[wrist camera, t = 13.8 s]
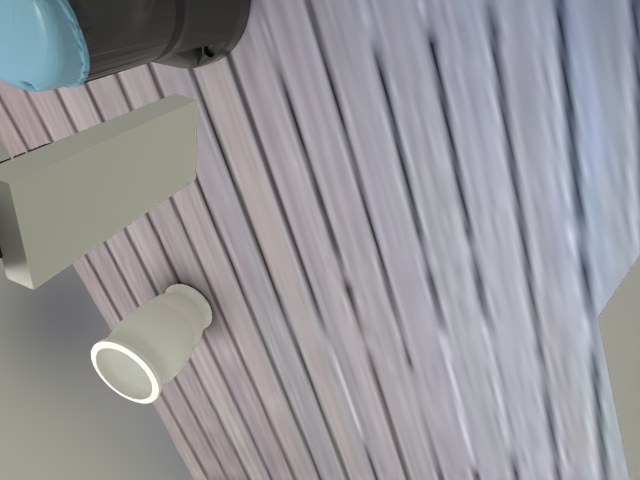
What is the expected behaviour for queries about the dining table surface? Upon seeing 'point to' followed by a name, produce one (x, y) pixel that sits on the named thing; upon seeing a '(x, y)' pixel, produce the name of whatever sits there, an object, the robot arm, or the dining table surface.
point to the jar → (152, 343)
